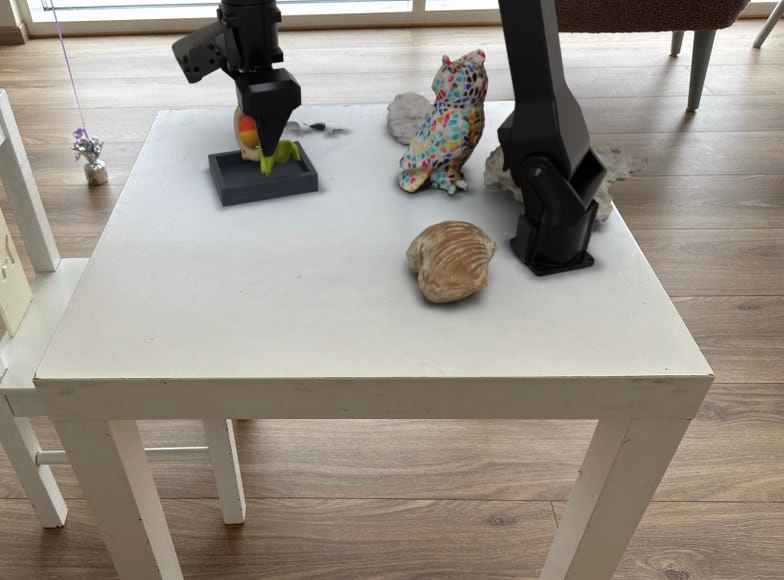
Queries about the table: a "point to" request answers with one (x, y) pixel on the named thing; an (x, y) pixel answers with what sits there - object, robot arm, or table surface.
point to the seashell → (451, 260)
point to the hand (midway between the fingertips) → (259, 139)
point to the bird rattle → (250, 141)
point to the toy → (315, 126)
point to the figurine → (448, 127)
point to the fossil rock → (616, 171)
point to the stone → (406, 115)
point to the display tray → (260, 177)
